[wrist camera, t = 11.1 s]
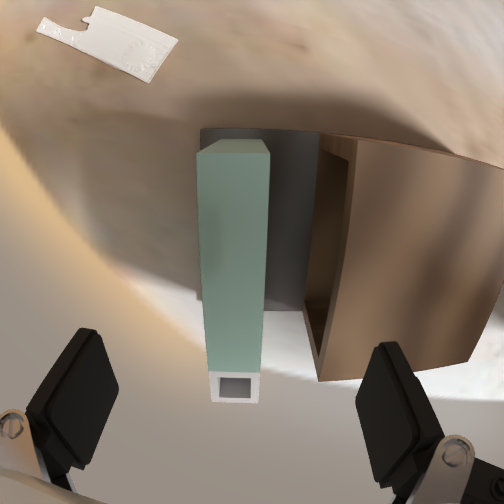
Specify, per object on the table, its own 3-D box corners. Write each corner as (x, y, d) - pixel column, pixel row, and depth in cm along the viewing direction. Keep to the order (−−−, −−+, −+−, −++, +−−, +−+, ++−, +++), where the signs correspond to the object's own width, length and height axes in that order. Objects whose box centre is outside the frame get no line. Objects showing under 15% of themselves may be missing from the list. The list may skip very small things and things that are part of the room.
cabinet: (455, 154, 23) (529, 178, 14) (423, 301, 29) (467, 361, 20) (202, 128, 23) (170, 133, 13) (207, 303, 29) (191, 380, 20)
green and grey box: (261, 139, 22) (270, 153, 12) (256, 308, 28) (258, 403, 18) (221, 138, 22) (196, 153, 12) (223, 308, 28) (211, 401, 18)
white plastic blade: (67, -10, 16) (62, -13, 15) (184, 36, 20) (181, 32, 19) (40, 32, 18) (33, 31, 17) (149, 85, 21) (145, 84, 20)
